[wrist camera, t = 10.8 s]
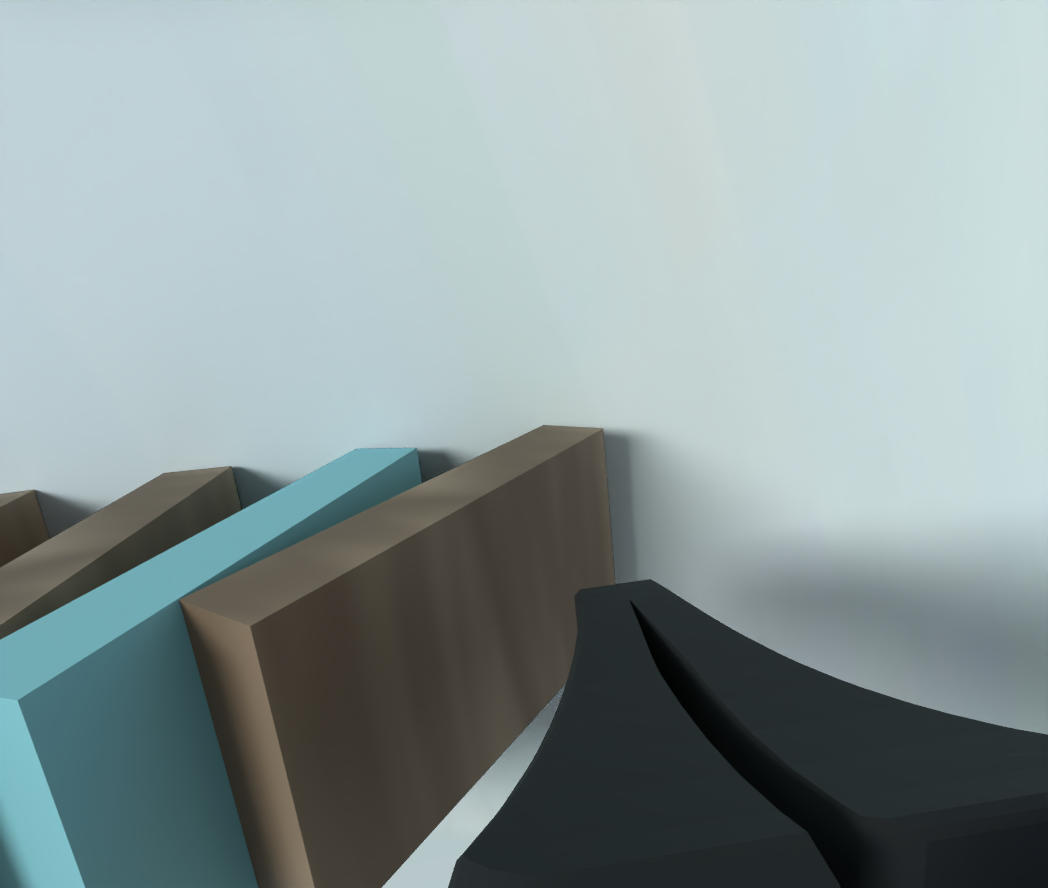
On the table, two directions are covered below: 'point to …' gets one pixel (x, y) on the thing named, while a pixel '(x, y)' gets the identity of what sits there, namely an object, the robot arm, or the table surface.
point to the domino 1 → (114, 542)
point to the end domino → (20, 525)
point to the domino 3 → (399, 655)
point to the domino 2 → (146, 706)
